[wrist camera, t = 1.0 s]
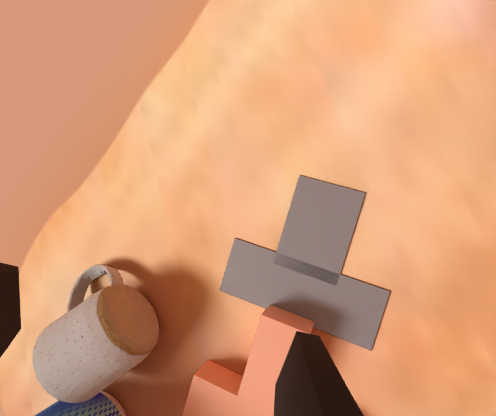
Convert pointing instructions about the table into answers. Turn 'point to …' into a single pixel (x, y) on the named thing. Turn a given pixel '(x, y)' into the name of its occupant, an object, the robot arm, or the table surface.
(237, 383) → the T block
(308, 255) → the T pad
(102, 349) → the ceramic mug
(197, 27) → the table surface
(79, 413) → the beer can
